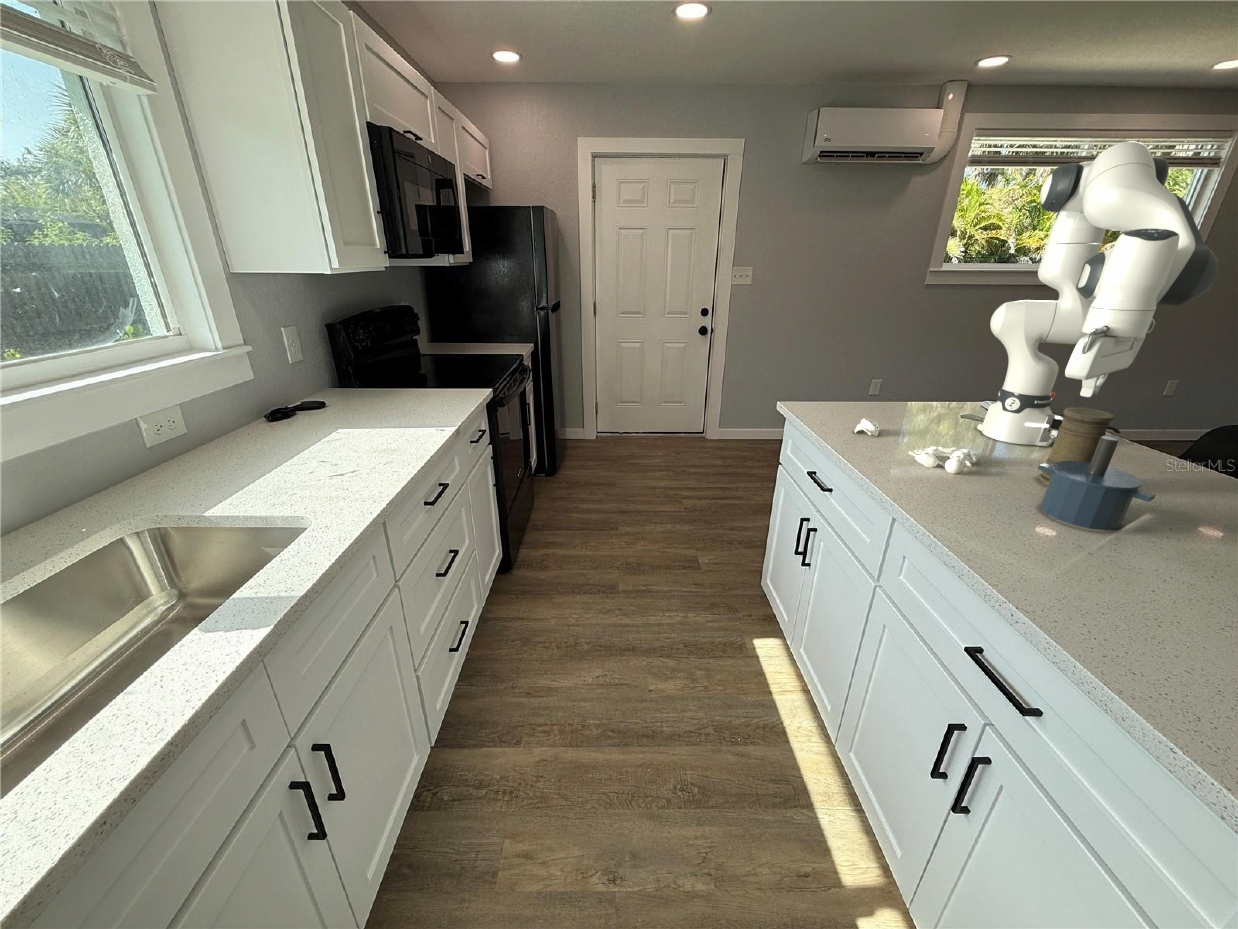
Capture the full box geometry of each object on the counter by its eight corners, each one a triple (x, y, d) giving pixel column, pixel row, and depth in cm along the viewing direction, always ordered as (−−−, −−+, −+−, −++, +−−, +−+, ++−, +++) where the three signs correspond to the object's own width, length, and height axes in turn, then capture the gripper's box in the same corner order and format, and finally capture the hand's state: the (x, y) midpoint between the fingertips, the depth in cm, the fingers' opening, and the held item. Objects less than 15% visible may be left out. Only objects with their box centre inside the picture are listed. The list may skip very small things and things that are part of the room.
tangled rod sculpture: (927, 449, 141) (929, 436, 140) (987, 460, 130) (990, 445, 129) (899, 465, 129) (902, 450, 128) (963, 478, 119) (966, 462, 117)
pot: (1041, 493, 112) (1056, 455, 108) (1147, 528, 98) (1167, 485, 94) (1014, 506, 107) (1028, 466, 103) (1121, 544, 92) (1141, 500, 89)
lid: (1068, 460, 107) (1082, 423, 104) (1151, 483, 96) (1170, 442, 93) (1038, 473, 101) (1052, 434, 98) (1123, 499, 90) (1142, 455, 87)
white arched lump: (856, 430, 156) (857, 415, 155) (879, 432, 153) (881, 416, 151) (853, 436, 150) (854, 420, 148) (878, 437, 146) (879, 421, 145)
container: (1096, 494, 112) (1127, 419, 105) (1051, 491, 113) (1079, 416, 106) (1071, 478, 120) (1098, 407, 113) (1029, 475, 121) (1054, 405, 114)
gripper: (1114, 331, 85) (1084, 407, 90) (1158, 321, 94) (1129, 391, 100) (1069, 326, 90) (1044, 399, 95) (1116, 318, 99) (1090, 385, 105)
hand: (1088, 395), depth 98 cm, fingers closed
